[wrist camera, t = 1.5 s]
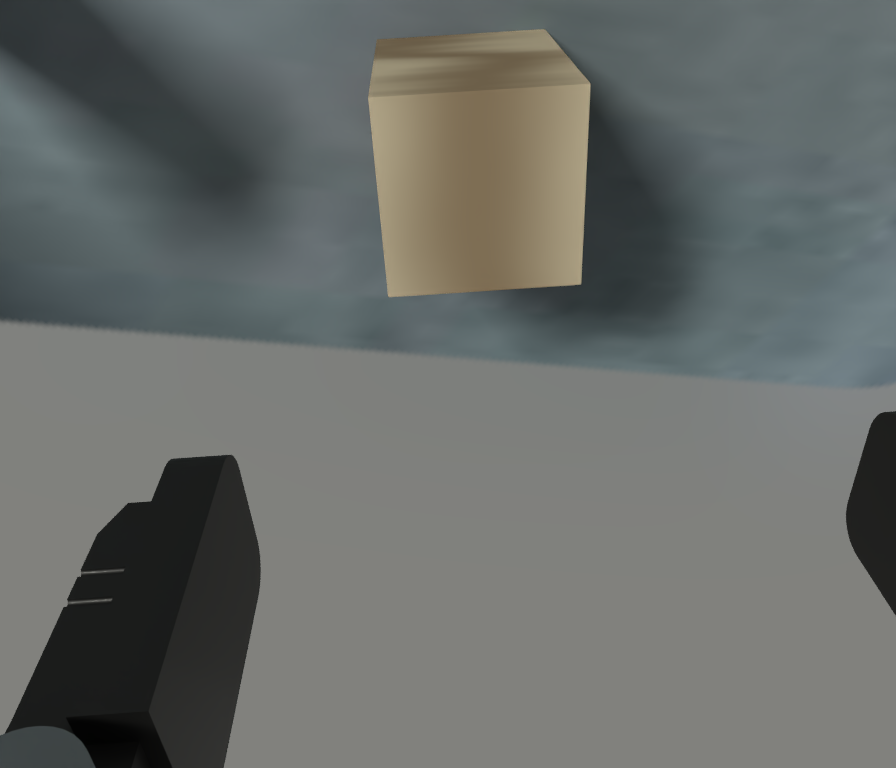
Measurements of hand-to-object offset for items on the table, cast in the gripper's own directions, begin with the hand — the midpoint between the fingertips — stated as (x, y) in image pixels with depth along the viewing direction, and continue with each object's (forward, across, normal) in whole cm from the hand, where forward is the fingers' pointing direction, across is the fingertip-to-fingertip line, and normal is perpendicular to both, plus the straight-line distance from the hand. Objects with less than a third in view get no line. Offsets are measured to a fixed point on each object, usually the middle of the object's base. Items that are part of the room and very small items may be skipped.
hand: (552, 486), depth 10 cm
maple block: (+18, 0, 0) cm, 18 cm away
